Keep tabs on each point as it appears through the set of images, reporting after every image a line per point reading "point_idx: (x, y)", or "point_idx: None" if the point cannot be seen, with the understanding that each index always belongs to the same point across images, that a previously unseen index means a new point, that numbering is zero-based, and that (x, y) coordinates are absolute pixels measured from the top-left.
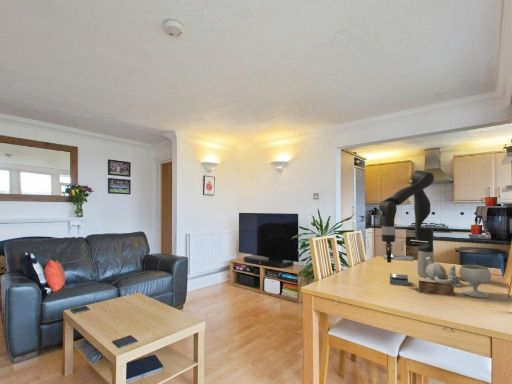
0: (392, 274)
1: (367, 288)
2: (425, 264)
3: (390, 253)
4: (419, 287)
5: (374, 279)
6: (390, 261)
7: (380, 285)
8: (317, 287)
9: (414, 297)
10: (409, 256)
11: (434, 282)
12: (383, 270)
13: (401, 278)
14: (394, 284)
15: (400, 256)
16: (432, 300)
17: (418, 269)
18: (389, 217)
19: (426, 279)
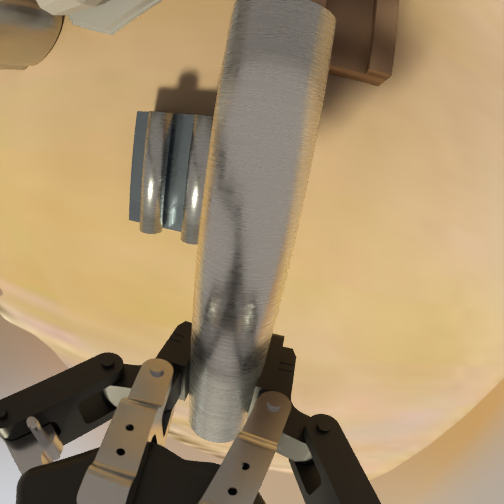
0: (155, 217)
1: (356, 361)
2: (8, 22)
3: (353, 459)
4: (382, 80)
5: (164, 297)
6: (280, 346)
7: (284, 293)
8: None
9: (481, 159)
10: (290, 67)
11: None
12: (11, 218)
13: None
14: None
15: (270, 258)
16: (500, 86)
17: (7, 66)
18: None
19: (112, 16)
